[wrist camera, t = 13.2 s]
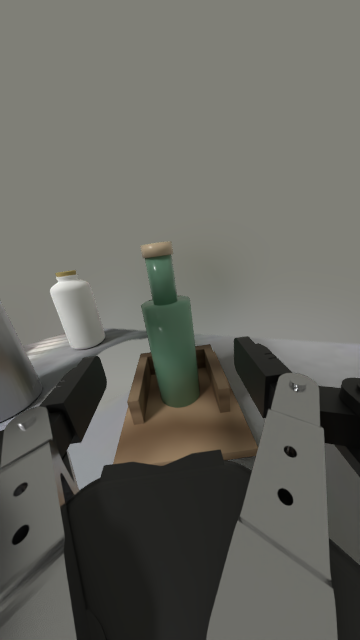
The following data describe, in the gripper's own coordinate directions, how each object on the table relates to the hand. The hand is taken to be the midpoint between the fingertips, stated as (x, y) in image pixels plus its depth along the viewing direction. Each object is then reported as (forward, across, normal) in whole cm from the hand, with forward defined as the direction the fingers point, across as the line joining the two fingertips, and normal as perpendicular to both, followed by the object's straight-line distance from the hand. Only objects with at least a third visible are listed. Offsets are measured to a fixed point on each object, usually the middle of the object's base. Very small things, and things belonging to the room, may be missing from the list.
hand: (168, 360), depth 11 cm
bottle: (+11, 0, +12) cm, 17 cm away
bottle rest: (+11, 0, +13) cm, 17 cm away
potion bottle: (+34, +23, +14) cm, 43 cm away
